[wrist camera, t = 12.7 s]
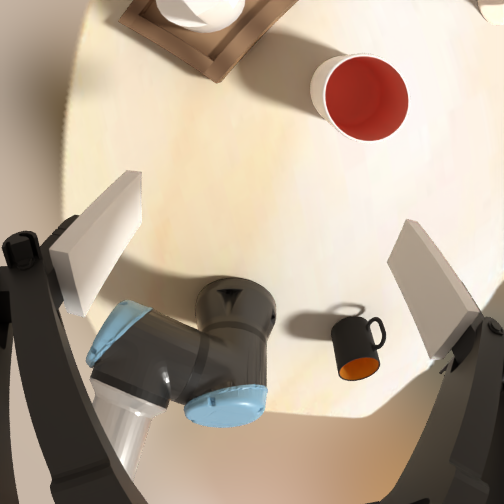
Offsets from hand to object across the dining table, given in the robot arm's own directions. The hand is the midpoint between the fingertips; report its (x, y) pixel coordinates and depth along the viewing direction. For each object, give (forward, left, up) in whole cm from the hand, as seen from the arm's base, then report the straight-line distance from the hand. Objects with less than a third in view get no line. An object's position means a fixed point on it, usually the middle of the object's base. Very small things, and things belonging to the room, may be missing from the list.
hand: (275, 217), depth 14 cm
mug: (-18, -40, -29) cm, 53 cm away
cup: (+10, -5, -29) cm, 31 cm away
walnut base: (+8, +16, -29) cm, 34 cm away
